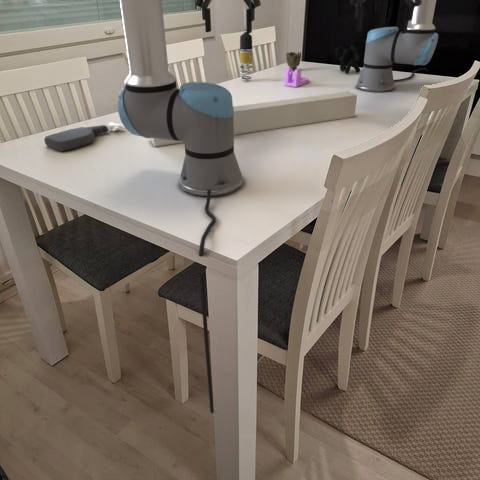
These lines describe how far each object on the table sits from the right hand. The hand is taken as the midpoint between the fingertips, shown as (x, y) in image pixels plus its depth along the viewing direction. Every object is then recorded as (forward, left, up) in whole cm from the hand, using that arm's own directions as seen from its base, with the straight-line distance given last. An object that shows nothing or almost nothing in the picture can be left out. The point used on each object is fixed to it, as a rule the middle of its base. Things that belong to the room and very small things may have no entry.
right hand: (380, 32), depth 134 cm
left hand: (+19, -42, 0) cm, 46 cm away
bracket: (-41, -45, -28) cm, 67 cm away
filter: (-35, -68, -28) cm, 82 cm away
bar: (+22, -30, -28) cm, 46 cm away
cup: (-66, -60, -28) cm, 93 cm away
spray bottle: (+57, -71, -28) cm, 95 cm away
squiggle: (-74, -34, -28) cm, 86 cm away
